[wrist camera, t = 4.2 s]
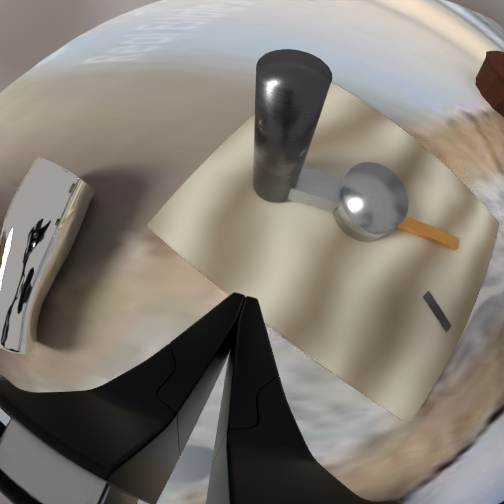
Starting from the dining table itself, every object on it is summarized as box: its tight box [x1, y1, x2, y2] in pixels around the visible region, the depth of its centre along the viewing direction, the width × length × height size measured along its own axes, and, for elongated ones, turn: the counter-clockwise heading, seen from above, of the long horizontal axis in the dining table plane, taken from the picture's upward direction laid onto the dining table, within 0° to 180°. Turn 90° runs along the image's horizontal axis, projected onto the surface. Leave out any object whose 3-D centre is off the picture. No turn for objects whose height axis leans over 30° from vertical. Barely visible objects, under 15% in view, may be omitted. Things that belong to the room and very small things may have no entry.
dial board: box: [147, 82, 499, 423], centre depth 21 cm, size 26×22×2 cm
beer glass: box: [0, 158, 95, 354], centre depth 18 cm, size 7×7×15 cm
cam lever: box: [253, 49, 458, 250], centre depth 15 cm, size 18×5×11 cm, turn 74°
